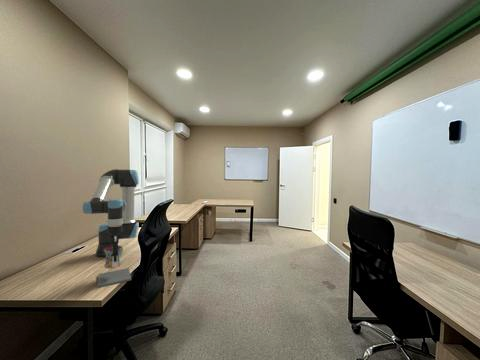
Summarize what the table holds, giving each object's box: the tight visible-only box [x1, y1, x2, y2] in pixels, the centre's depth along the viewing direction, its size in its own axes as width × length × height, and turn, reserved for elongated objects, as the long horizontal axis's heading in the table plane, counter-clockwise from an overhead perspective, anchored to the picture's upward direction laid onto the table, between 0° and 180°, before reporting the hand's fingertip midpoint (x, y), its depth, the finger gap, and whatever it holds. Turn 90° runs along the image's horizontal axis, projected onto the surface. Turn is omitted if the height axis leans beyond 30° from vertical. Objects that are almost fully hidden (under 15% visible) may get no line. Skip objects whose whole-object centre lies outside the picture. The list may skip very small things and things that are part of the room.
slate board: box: [97, 267, 132, 288], centre depth 123 cm, size 16×16×1 cm
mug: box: [103, 245, 124, 269], centre depth 124 cm, size 12×9×11 cm
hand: (114, 264), depth 123 cm, fingers closed on mug, 8 cm apart
